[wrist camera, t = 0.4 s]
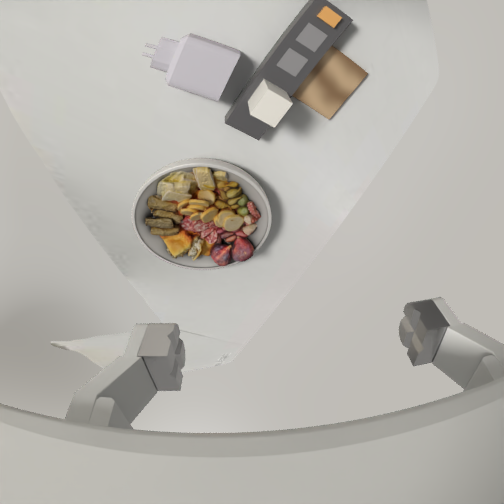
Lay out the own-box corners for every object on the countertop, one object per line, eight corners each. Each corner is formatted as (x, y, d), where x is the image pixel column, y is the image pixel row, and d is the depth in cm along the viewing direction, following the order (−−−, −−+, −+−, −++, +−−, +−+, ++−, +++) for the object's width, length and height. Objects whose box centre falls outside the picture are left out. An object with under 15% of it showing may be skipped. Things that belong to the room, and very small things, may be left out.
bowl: (114, 219, 70) (106, 242, 65) (186, 122, 55) (182, 141, 50) (213, 270, 86) (213, 294, 81) (296, 202, 71) (303, 225, 66)
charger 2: (263, 76, 48) (268, 89, 43) (284, 89, 50) (292, 103, 45) (247, 98, 51) (250, 114, 46) (268, 110, 53) (274, 127, 47)
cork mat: (329, 43, 45) (330, 44, 44) (366, 72, 48) (368, 73, 48) (289, 93, 52) (290, 94, 51) (327, 117, 56) (329, 119, 55)
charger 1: (156, 22, 40) (239, 49, 45) (138, 69, 46) (218, 94, 51) (150, 25, 37) (241, 55, 42) (131, 77, 43) (217, 103, 48)
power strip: (314, -6, 38) (320, -5, 35) (346, 18, 41) (354, 20, 38) (224, 116, 54) (224, 125, 52) (257, 133, 57) (259, 142, 55)
